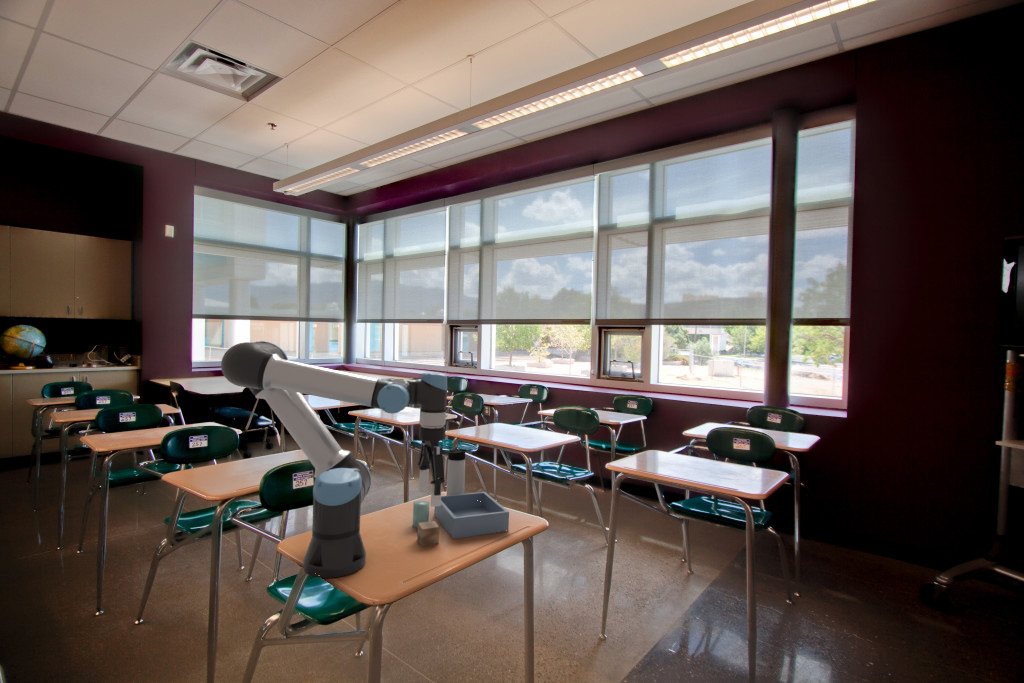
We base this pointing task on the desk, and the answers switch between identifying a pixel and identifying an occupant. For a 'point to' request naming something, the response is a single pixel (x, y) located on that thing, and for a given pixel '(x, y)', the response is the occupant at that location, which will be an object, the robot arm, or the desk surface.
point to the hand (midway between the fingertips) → (429, 498)
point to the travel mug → (456, 472)
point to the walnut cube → (428, 533)
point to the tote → (471, 515)
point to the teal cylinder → (420, 512)
